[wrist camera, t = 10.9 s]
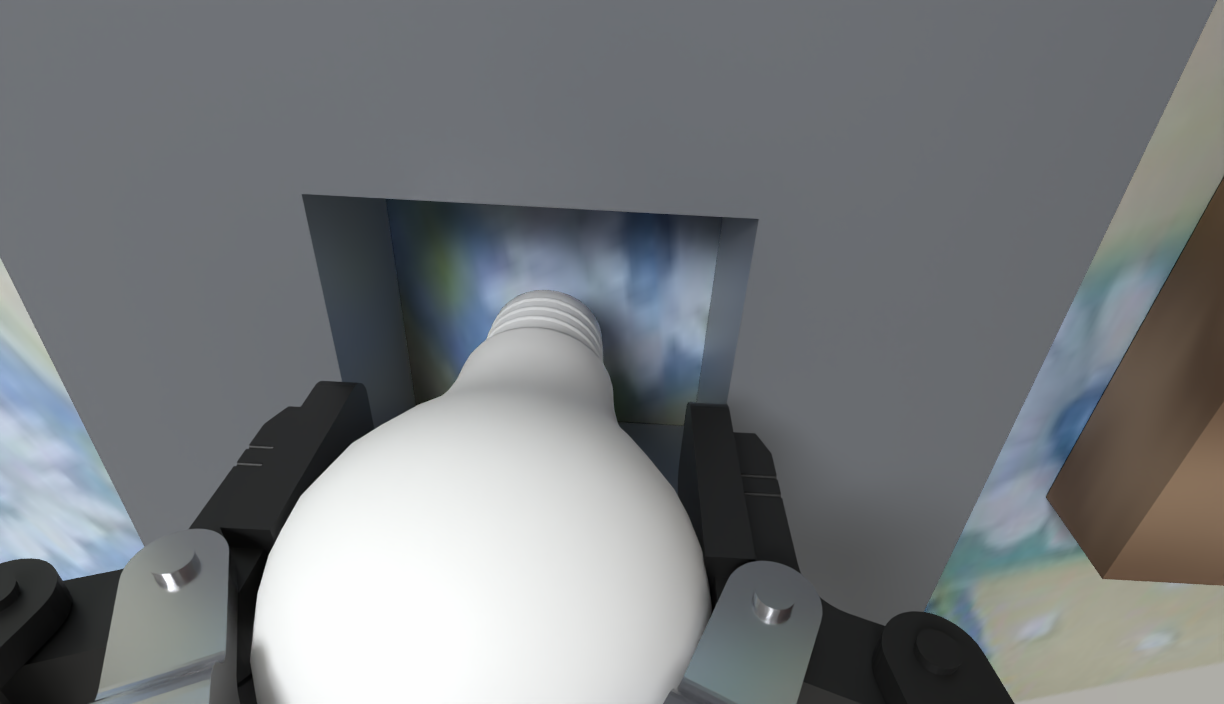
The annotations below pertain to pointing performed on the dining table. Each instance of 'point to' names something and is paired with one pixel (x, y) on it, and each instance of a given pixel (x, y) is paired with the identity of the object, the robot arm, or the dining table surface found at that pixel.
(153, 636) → the robot arm
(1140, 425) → the wooden picture frame
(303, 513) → the lightbulb
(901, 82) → the socket block
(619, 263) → the dining table surface
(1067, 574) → the dining table surface
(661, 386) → the dining table surface
